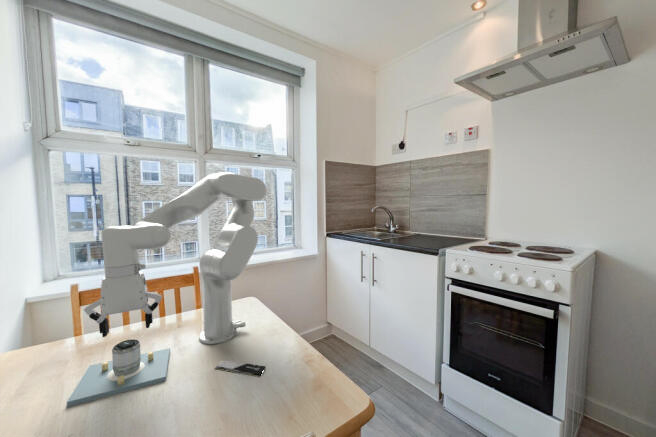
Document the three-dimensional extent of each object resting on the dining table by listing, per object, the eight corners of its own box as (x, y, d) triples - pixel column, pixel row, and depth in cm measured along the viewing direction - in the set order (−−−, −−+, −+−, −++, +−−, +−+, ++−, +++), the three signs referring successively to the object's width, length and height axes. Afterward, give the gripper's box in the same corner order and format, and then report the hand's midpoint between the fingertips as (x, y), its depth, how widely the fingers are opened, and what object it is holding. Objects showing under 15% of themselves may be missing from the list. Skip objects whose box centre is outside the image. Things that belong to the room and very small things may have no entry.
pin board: (170, 351, 86) (169, 342, 85) (165, 380, 71) (165, 369, 71) (90, 369, 76) (89, 358, 76) (66, 406, 62) (66, 393, 62)
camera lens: (123, 379, 70) (122, 350, 70) (107, 374, 72) (106, 346, 72) (146, 365, 76) (145, 339, 76) (131, 361, 78) (129, 335, 78)
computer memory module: (214, 367, 77) (223, 359, 80) (214, 370, 77) (223, 362, 80) (260, 375, 73) (267, 366, 77) (260, 378, 73) (267, 369, 77)
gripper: (160, 263, 80) (164, 318, 81) (86, 272, 72) (92, 332, 73) (158, 269, 73) (162, 328, 74) (75, 279, 65) (82, 345, 67)
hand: (127, 330), depth 74 cm, fingers open, 9 cm apart
